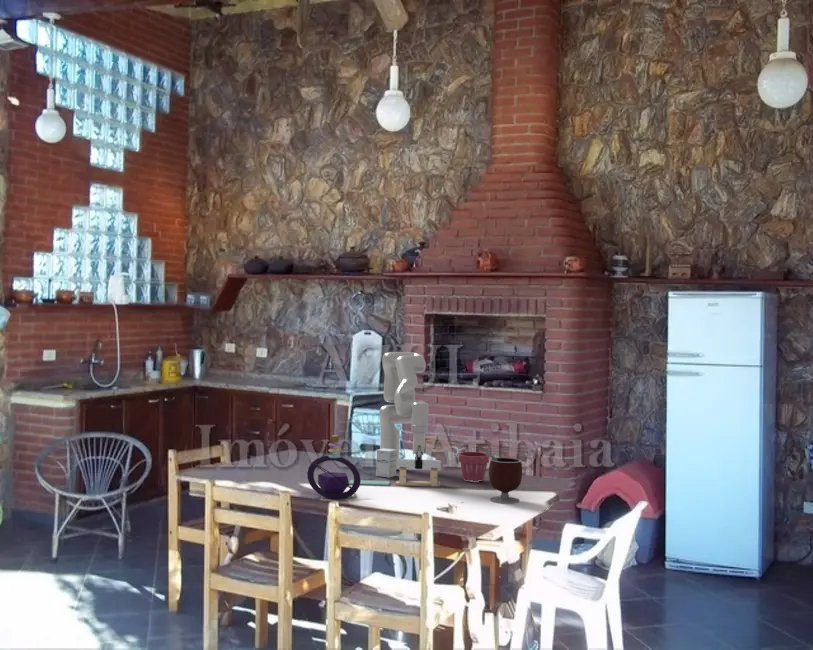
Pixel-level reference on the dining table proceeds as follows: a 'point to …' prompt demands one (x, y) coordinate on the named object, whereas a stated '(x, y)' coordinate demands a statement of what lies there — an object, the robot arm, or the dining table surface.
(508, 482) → the mate gourd
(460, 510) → the dining table surface
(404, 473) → the rack
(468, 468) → the plant pot
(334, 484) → the decorative bottle
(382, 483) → the mat
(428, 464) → the block
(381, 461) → the supplement box
